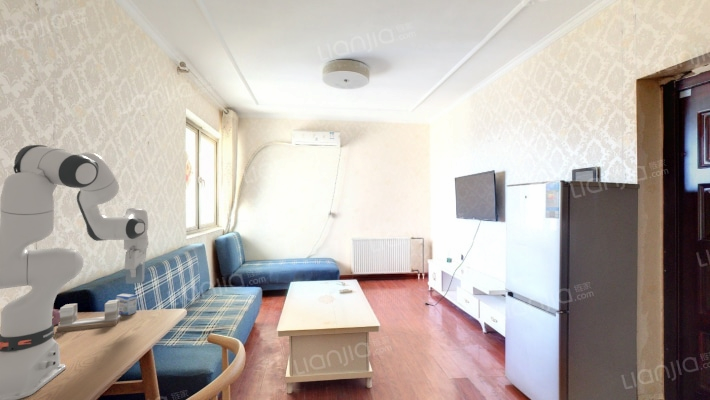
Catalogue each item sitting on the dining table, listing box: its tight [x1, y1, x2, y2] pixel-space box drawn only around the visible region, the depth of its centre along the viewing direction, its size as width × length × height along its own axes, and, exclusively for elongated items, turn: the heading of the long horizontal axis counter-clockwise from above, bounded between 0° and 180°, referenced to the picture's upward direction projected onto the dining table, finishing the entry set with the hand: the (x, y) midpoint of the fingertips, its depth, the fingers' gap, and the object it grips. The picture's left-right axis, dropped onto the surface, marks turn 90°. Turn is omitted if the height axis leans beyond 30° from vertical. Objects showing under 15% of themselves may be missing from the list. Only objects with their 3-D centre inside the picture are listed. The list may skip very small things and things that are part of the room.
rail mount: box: [55, 299, 122, 333], centre depth 136 cm, size 8×20×9 cm, turn 114°
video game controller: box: [52, 308, 60, 327], centre depth 137 cm, size 10×5×7 cm, turn 85°
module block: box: [125, 262, 146, 285], centre depth 140 cm, size 4×6×9 cm
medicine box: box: [115, 293, 138, 316], centre depth 151 cm, size 8×4×9 cm, turn 77°
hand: (135, 275), depth 140 cm, fingers closed on module block, 4 cm apart
